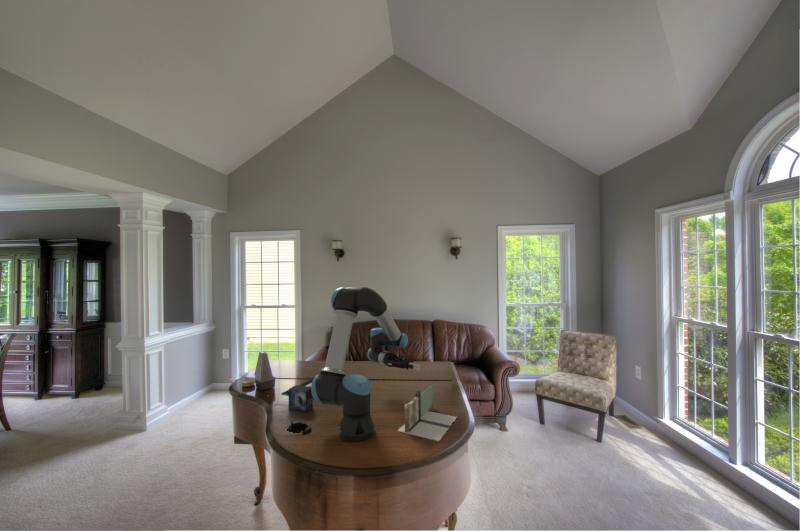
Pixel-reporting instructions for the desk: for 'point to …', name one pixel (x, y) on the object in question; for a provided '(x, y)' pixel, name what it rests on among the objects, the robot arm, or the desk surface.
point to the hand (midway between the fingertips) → (418, 368)
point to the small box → (300, 398)
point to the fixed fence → (412, 412)
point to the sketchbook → (307, 383)
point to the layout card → (431, 426)
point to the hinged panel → (426, 400)
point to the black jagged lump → (298, 427)
